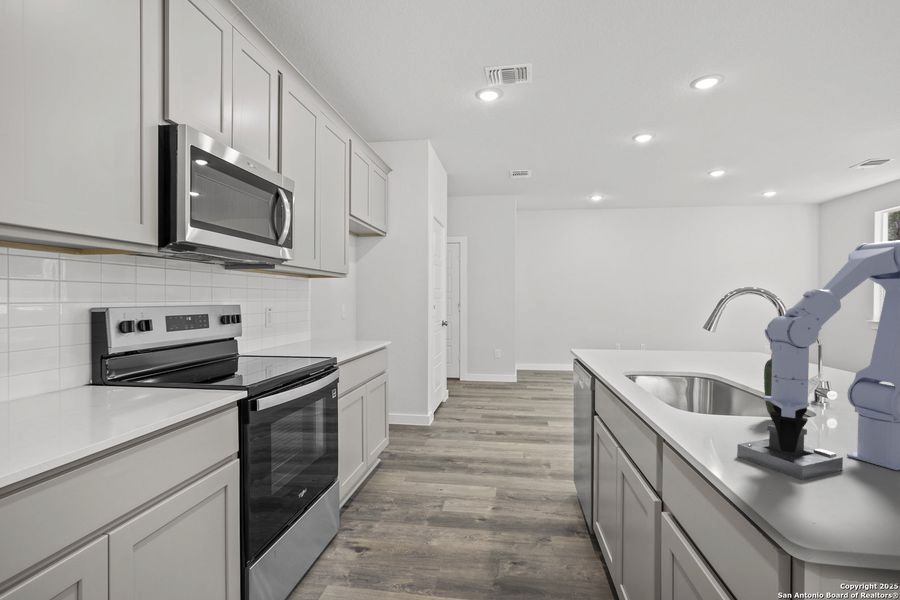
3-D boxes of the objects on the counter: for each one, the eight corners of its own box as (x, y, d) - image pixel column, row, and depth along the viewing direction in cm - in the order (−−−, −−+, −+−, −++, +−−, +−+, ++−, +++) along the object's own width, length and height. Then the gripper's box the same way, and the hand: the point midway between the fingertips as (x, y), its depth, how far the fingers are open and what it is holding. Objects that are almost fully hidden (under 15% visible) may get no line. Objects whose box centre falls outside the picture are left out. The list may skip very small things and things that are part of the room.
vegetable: (764, 420, 116) (766, 344, 116) (762, 416, 120) (763, 343, 120) (785, 422, 114) (787, 345, 114) (782, 418, 118) (783, 344, 118)
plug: (781, 456, 90) (781, 422, 90) (806, 464, 86) (807, 429, 86) (766, 459, 89) (767, 425, 89) (791, 468, 84) (792, 432, 84)
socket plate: (775, 449, 95) (776, 435, 95) (842, 470, 84) (842, 454, 83) (737, 456, 90) (737, 441, 90) (802, 479, 79) (802, 463, 79)
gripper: (766, 370, 95) (765, 432, 95) (762, 380, 83) (760, 451, 84) (809, 374, 90) (807, 439, 91) (810, 385, 79) (808, 460, 79)
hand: (788, 445), depth 87 cm, fingers open, 7 cm apart
